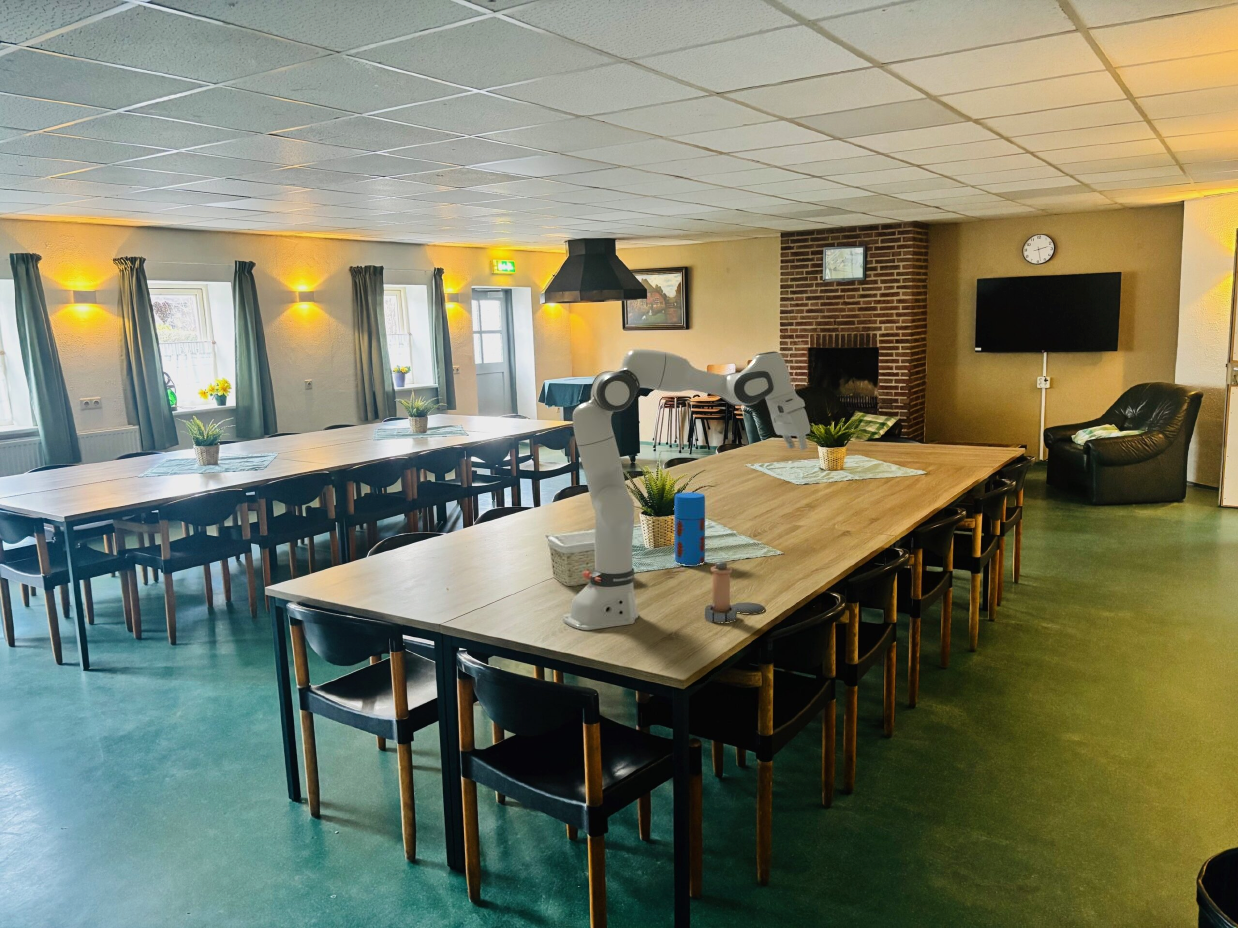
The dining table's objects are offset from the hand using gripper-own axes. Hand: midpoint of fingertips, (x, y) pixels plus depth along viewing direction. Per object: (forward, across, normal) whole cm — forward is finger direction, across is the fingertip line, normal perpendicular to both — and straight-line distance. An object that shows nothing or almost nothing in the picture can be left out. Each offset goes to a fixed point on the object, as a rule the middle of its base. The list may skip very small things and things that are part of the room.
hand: (798, 448), depth 258 cm
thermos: (+36, -61, -31) cm, 77 cm away
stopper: (+38, +2, -39) cm, 55 cm away
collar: (+38, +2, -39) cm, 55 cm away
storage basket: (+24, -50, -68) cm, 88 cm away
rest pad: (+41, -5, -29) cm, 50 cm away
